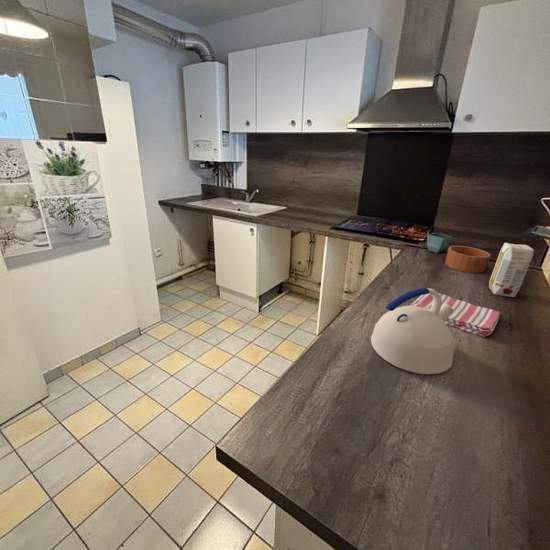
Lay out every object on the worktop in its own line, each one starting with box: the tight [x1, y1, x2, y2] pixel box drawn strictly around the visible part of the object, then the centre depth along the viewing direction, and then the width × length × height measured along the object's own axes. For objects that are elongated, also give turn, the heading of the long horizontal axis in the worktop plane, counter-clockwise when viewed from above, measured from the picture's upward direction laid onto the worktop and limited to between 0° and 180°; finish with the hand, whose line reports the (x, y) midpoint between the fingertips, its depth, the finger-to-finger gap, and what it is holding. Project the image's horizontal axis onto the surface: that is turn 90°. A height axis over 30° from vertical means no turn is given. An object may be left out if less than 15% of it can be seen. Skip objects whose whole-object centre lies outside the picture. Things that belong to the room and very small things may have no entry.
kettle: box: [370, 287, 456, 375], centre depth 75 cm, size 20×21×18 cm
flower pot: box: [426, 232, 452, 254], centre depth 156 cm, size 9×9×9 cm
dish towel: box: [409, 292, 502, 338], centre depth 95 cm, size 17×23×4 cm
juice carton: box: [488, 242, 535, 298], centre depth 109 cm, size 8×9×19 cm
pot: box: [444, 245, 491, 274], centre depth 137 cm, size 17×17×8 cm
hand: (546, 241), depth 95 cm, fingers open, 13 cm apart
